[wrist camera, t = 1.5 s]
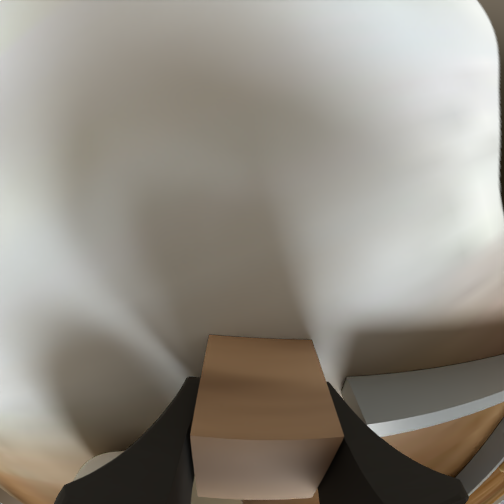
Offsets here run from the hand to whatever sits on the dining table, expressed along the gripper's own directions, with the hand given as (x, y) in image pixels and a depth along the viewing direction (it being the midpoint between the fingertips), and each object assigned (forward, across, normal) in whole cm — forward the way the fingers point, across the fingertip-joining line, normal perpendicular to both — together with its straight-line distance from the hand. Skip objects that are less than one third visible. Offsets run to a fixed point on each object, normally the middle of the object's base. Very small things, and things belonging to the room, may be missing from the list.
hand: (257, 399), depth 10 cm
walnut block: (+1, 0, 0) cm, 1 cm away
